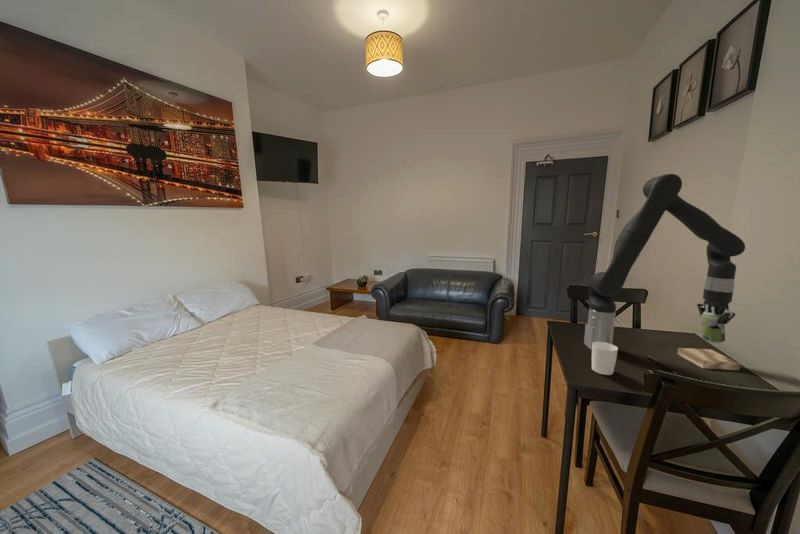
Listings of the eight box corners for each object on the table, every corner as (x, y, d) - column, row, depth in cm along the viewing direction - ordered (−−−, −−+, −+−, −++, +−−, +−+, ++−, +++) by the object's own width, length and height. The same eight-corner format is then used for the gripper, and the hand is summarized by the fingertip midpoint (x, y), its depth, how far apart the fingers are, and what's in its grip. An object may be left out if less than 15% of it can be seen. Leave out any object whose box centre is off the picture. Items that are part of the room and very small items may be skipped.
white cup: (595, 363, 112) (597, 339, 110) (618, 372, 105) (621, 347, 104) (585, 369, 108) (588, 344, 106) (609, 378, 101) (612, 352, 100)
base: (702, 368, 108) (704, 360, 107) (677, 354, 119) (678, 347, 119) (739, 370, 106) (740, 363, 106) (709, 355, 118) (710, 349, 117)
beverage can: (729, 345, 107) (734, 315, 105) (706, 344, 109) (711, 314, 107) (714, 338, 114) (719, 310, 111) (693, 337, 115) (697, 309, 113)
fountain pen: (679, 376, 103) (680, 372, 103) (676, 376, 103) (676, 372, 103) (647, 357, 117) (647, 354, 117) (644, 357, 117) (644, 354, 117)
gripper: (691, 284, 115) (685, 325, 118) (724, 293, 102) (717, 338, 105) (712, 285, 114) (706, 325, 117) (748, 293, 101) (740, 339, 104)
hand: (711, 331), depth 111 cm, fingers closed
